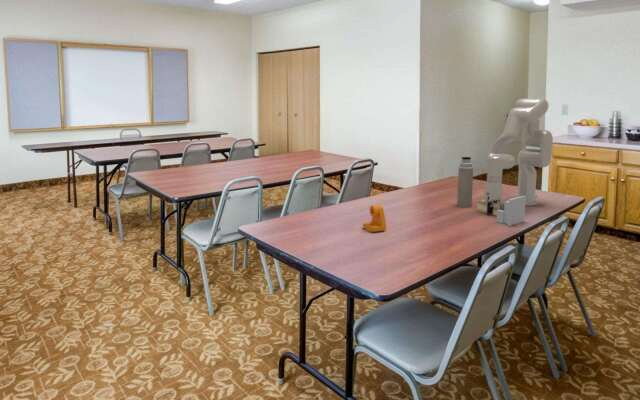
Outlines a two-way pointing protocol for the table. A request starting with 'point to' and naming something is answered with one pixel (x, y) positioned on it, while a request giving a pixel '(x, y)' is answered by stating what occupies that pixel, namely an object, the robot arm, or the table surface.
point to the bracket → (376, 219)
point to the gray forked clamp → (512, 211)
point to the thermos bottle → (465, 183)
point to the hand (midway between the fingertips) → (492, 212)
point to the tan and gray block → (496, 206)
